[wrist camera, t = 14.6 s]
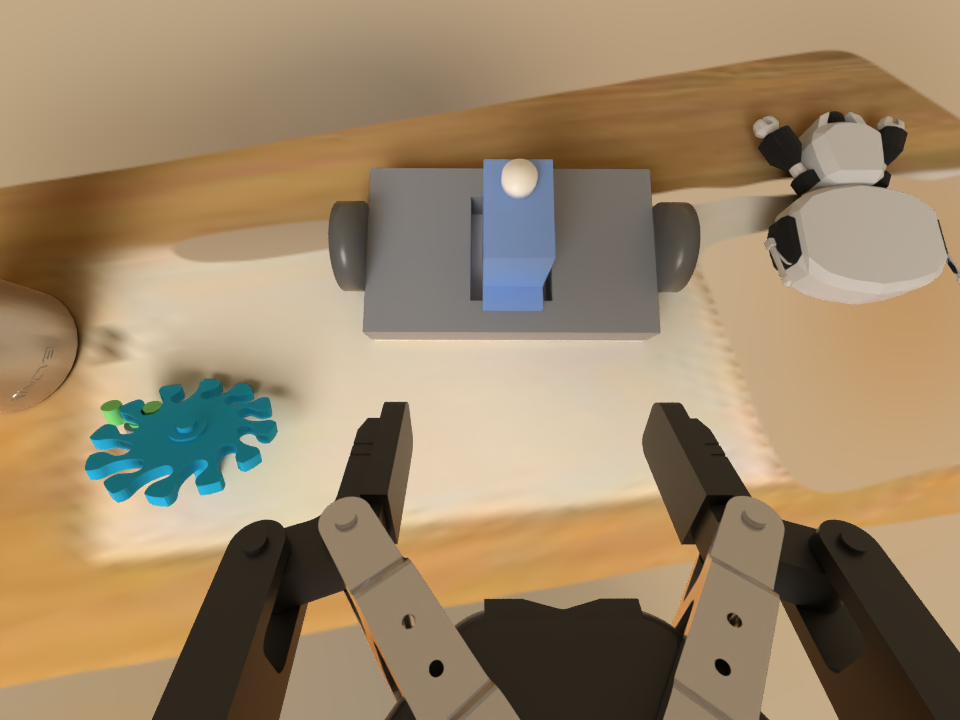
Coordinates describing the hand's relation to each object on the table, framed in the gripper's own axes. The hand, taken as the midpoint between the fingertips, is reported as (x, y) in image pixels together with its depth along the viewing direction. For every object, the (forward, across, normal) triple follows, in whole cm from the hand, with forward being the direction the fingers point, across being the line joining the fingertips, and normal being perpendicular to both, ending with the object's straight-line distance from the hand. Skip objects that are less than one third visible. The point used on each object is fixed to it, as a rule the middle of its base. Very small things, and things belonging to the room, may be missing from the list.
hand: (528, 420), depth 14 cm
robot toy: (+23, -25, +1) cm, 34 cm away
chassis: (+20, -1, +3) cm, 21 cm away
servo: (+20, -1, +3) cm, 20 cm away
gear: (+12, +20, +12) cm, 27 cm away
